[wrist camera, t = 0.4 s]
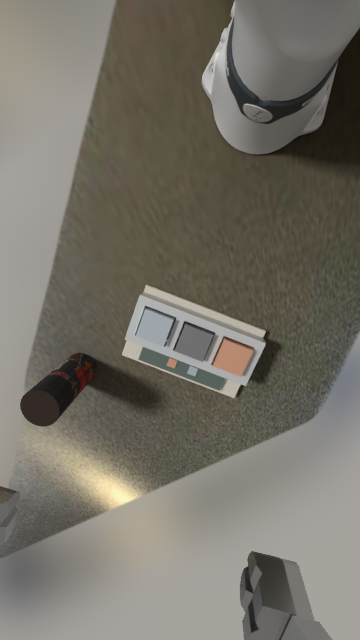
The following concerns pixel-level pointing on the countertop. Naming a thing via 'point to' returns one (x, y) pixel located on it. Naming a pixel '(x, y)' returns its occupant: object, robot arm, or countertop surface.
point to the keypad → (182, 312)
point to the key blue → (155, 326)
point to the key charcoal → (194, 341)
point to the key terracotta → (232, 356)
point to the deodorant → (57, 390)
